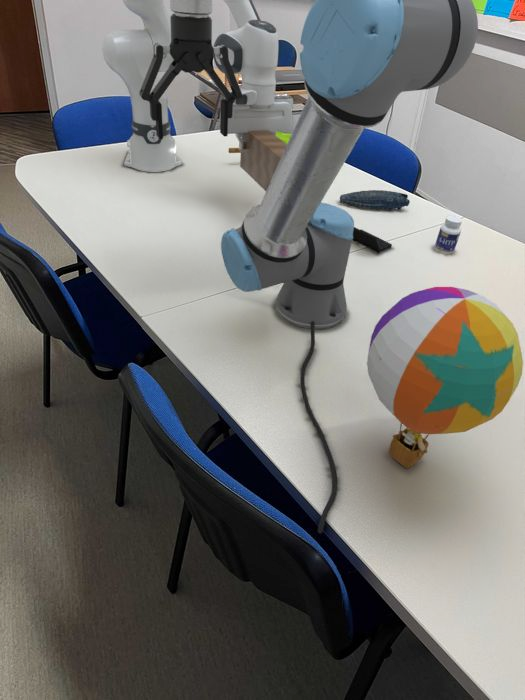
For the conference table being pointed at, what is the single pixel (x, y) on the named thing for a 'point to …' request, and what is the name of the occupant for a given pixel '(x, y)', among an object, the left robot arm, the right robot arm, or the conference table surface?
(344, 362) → the conference table surface
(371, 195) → the fish model
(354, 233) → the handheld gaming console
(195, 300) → the conference table surface
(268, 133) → the box
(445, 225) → the pill bottle
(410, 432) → the toy
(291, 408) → the conference table surface
